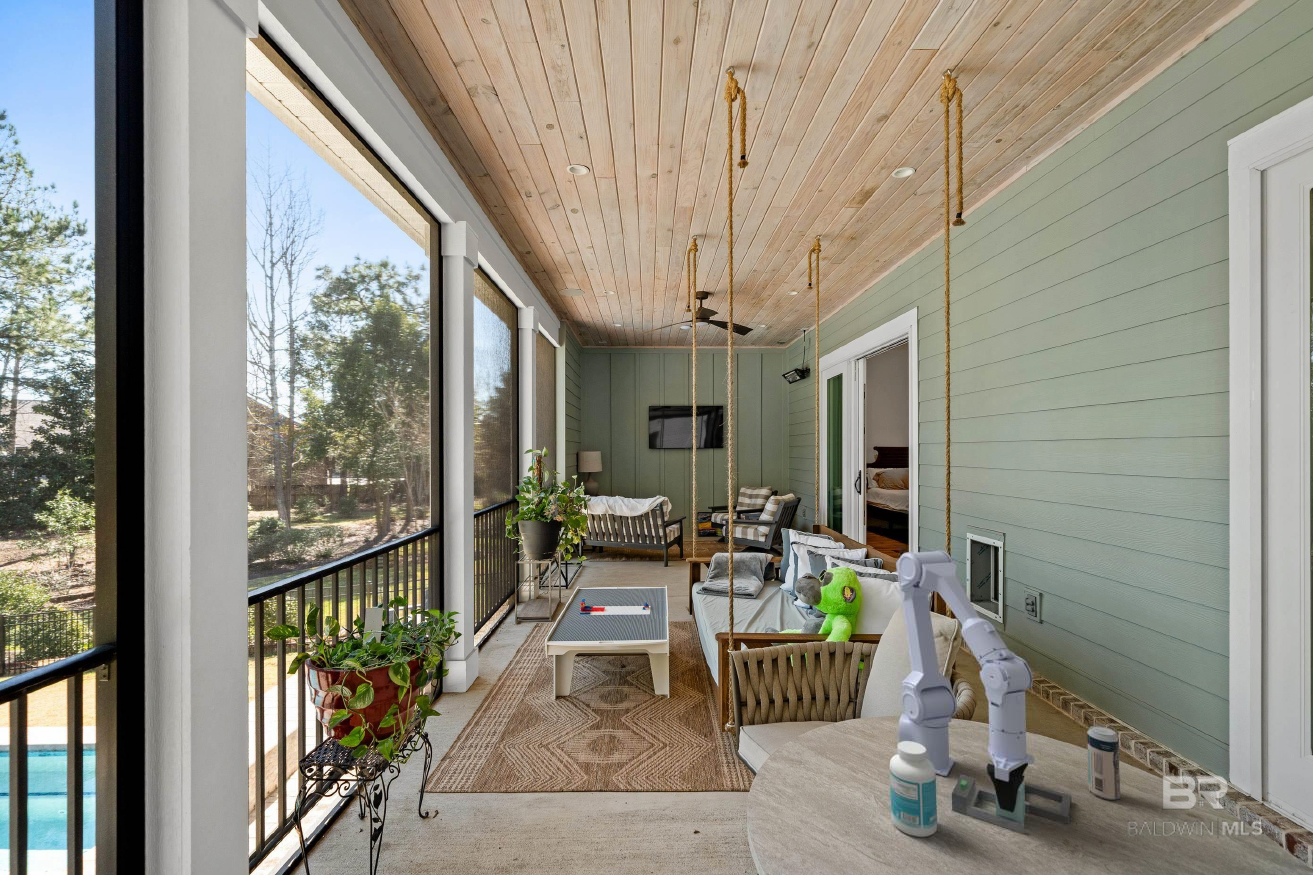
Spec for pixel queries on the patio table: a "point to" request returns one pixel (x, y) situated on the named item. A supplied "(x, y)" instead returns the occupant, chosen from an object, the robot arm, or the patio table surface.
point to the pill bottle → (913, 790)
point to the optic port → (966, 802)
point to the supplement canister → (1103, 762)
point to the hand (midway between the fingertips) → (1008, 803)
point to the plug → (1019, 807)
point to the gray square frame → (1054, 795)
